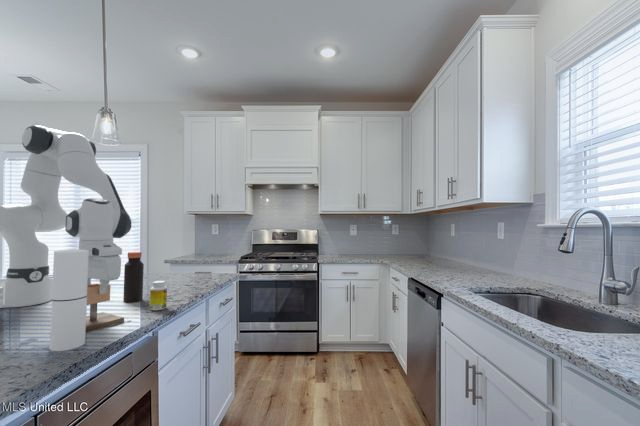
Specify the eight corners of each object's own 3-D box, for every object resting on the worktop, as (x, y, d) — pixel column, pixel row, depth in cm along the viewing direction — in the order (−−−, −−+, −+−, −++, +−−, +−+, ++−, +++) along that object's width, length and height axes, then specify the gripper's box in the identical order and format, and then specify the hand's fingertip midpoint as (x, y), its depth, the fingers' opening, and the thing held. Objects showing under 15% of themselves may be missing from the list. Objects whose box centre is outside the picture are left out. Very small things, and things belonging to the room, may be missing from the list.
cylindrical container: (55, 353, 74) (60, 252, 75) (45, 347, 78) (49, 250, 79) (89, 344, 80) (93, 250, 81) (78, 338, 84) (82, 249, 85)
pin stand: (60, 327, 92) (61, 300, 92) (102, 316, 103) (103, 292, 103) (81, 334, 87) (82, 306, 87) (123, 322, 98) (124, 297, 98)
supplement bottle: (165, 310, 111) (166, 282, 112) (148, 311, 109) (149, 283, 110) (167, 306, 116) (168, 279, 117) (151, 307, 115) (152, 280, 115)
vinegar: (131, 298, 128) (133, 251, 129) (146, 298, 127) (147, 251, 128) (119, 302, 121) (120, 252, 122) (134, 302, 120) (135, 253, 121)
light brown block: (76, 302, 93) (76, 286, 94) (98, 297, 99) (99, 282, 99) (87, 305, 91) (88, 288, 91) (109, 300, 96) (110, 284, 96)
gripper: (67, 248, 97) (65, 290, 97) (104, 251, 89) (102, 298, 88) (89, 246, 103) (87, 287, 103) (125, 249, 94) (124, 293, 94)
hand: (94, 292), depth 95 cm, fingers closed on light brown block, 6 cm apart
